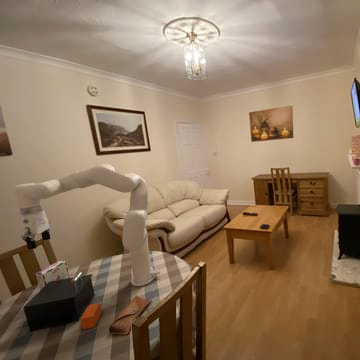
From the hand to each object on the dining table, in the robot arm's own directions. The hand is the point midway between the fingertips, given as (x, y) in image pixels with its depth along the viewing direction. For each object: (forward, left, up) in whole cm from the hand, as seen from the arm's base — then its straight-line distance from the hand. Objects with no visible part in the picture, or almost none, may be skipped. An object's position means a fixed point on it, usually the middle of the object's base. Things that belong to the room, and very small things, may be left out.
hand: (40, 243), depth 100 cm
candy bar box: (-1, -2, -30) cm, 30 cm away
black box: (-11, +12, -30) cm, 34 cm away
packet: (-26, +22, -30) cm, 45 cm away
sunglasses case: (-43, +25, -30) cm, 58 cm away
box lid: (-12, +12, -19) cm, 25 cm away
